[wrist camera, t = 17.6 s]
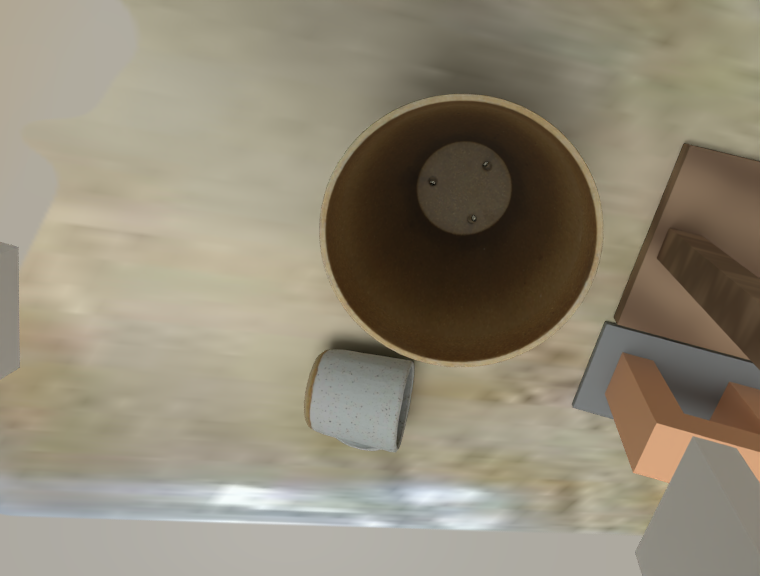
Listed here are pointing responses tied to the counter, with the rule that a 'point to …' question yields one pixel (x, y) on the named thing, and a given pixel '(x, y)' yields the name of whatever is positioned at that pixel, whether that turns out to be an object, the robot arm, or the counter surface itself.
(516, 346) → the plant pot
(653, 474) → the orange notched block
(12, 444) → the counter surface
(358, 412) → the ceramic mug
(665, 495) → the robot arm
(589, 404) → the mat
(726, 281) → the hook stand
